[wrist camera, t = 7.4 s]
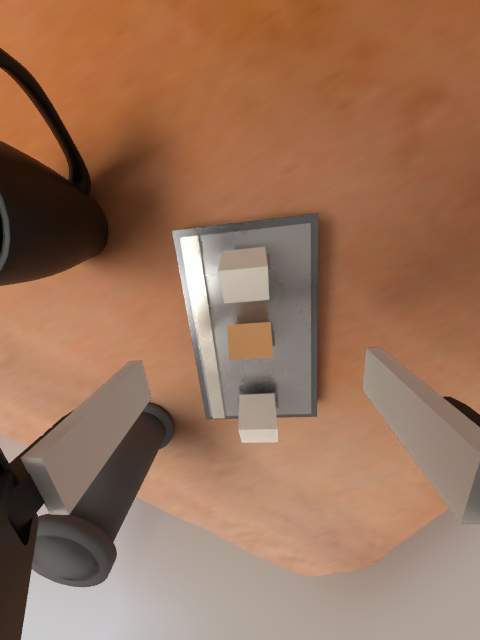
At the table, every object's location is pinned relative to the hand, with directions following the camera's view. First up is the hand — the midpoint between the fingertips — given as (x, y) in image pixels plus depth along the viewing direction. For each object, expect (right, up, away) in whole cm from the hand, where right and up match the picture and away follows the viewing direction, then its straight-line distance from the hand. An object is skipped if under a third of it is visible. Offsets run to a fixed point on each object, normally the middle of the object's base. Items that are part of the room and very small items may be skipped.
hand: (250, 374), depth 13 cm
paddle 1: (0, +7, +3) cm, 8 cm away
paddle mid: (0, +2, +5) cm, 5 cm away
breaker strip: (+1, +3, +8) cm, 9 cm away
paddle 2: (+1, -4, +7) cm, 8 cm away
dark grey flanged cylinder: (-12, -9, +13) cm, 20 cm away
